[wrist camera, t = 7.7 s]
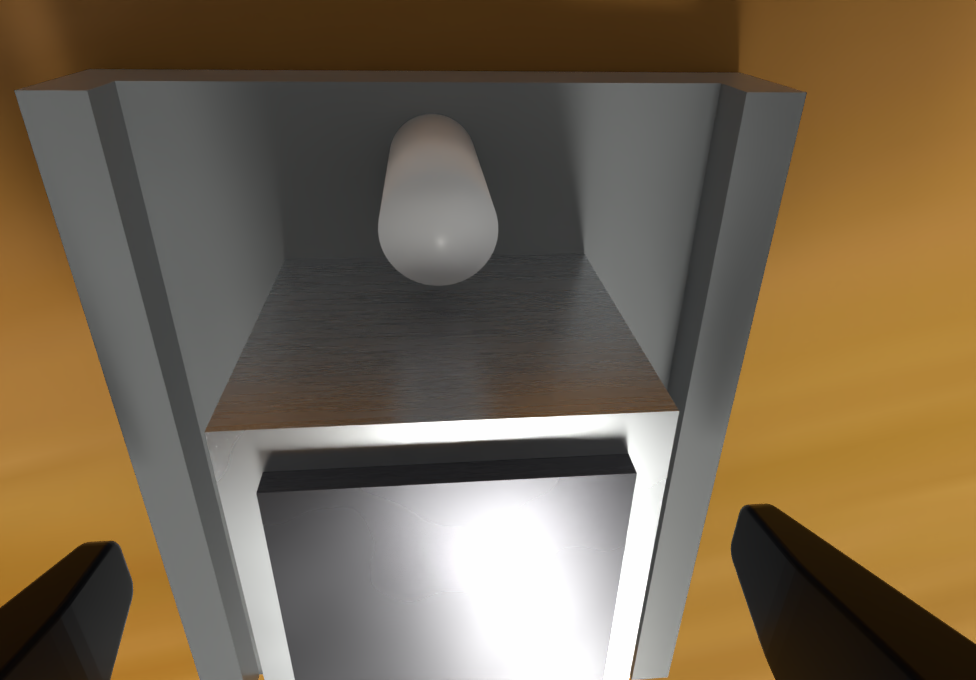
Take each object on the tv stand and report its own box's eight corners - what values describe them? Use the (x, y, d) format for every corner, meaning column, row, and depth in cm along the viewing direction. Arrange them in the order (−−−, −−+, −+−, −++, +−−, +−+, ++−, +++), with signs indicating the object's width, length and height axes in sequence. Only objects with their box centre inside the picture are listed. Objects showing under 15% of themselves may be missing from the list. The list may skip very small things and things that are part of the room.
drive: (555, 572, 13) (611, 817, 10) (332, 587, 13) (296, 849, 9) (584, 252, 10) (691, 429, 6) (285, 260, 10) (194, 452, 6)
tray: (640, 600, 16) (706, 786, 12) (234, 628, 15) (176, 837, 11) (739, 72, 10) (921, 126, 6) (89, 69, 9) (-124, 128, 6)
